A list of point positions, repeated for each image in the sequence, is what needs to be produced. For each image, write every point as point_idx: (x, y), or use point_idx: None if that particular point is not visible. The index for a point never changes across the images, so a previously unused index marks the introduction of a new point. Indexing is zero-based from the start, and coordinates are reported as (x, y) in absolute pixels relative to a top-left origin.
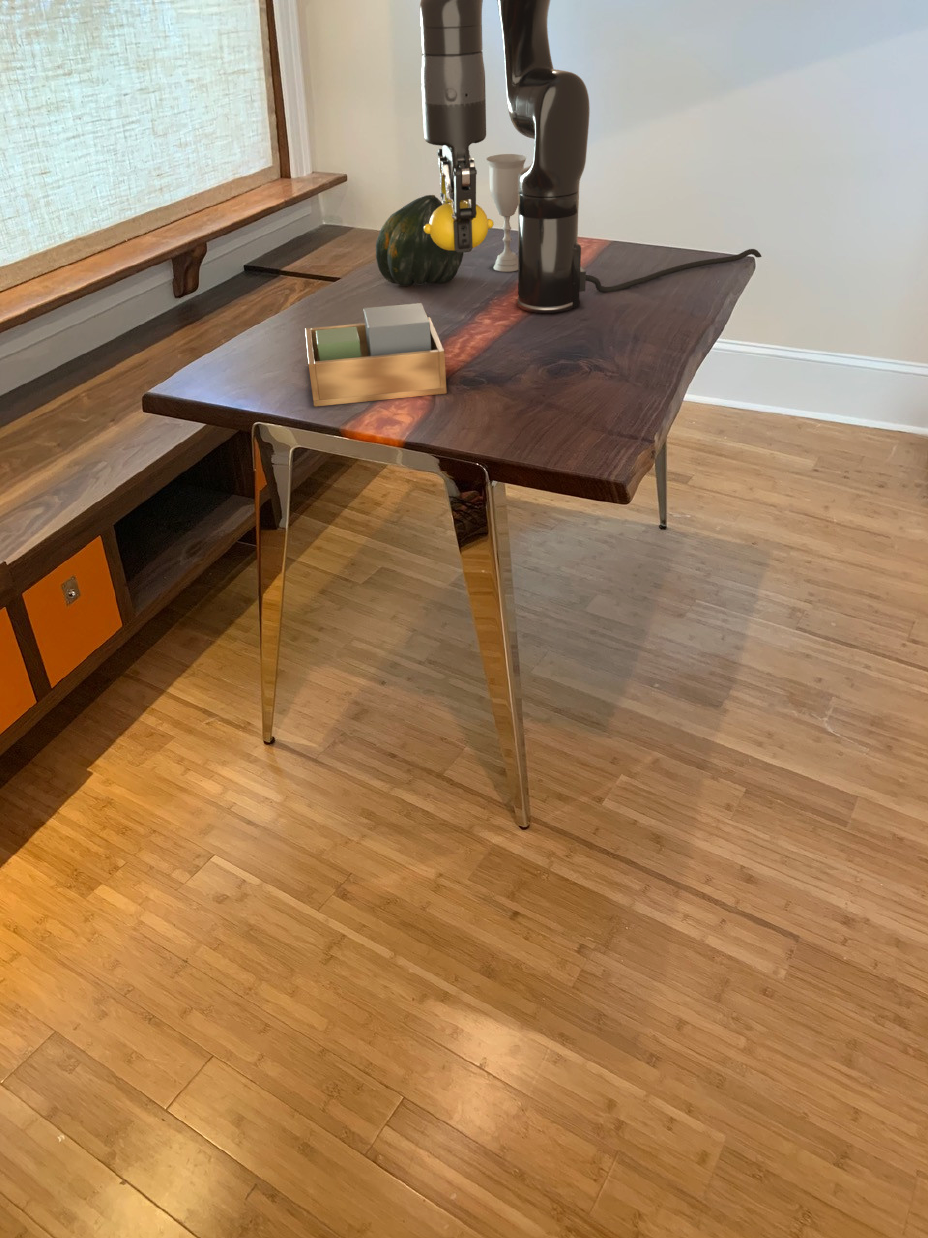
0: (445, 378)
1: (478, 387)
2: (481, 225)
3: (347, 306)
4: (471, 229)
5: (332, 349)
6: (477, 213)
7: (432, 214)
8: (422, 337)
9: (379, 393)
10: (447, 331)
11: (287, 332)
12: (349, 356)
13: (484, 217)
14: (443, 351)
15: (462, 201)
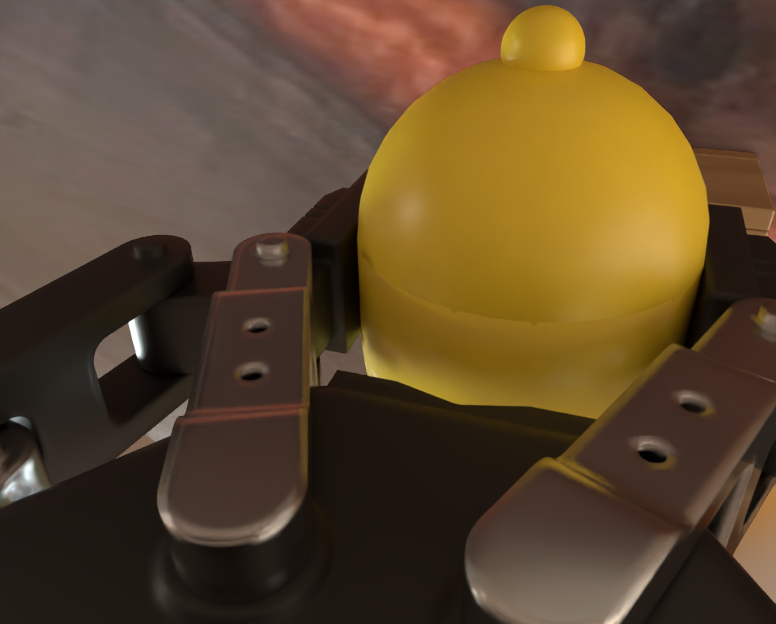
0: (761, 172)
1: (760, 31)
2: (694, 168)
3: (23, 251)
4: (751, 268)
5: None
6: (655, 229)
7: None
8: None
9: None
10: (220, 22)
11: (186, 407)
12: None
13: (638, 140)
14: (773, 213)
15: (311, 265)
